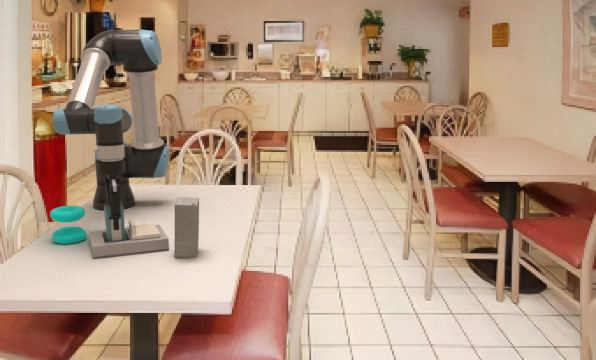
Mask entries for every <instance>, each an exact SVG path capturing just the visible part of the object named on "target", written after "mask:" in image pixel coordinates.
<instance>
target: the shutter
mask: <svg viewBox="0 0 596 360" xmlns="http://www.w3.org/2000/svg"><path fill="white" fill-rule="evenodd" d="M155 225H156V224H155V223H154V222H153V223H151V222H150V223H144V224H143V223H140V224H136V222H135V220H134V218H133V217H131V218H130V217H129V218H128V225H127V226H126V228H127V229H128V232H129V234H130V236H131V238H132V240H136V239H145V238H155V237H160V232H159V231H158V229H157V228H156V226H155Z"/></svg>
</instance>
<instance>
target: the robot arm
mask: <svg viewBox="0 0 596 360" xmlns="http://www.w3.org/2000/svg"><path fill="white" fill-rule="evenodd" d="M80 53H81V54H80V62H81V64H80V66H79V69H78V73H77V75H76V78H75V80H74V83H73V85H72V88H71V92H70V94H69V96H68V100H67V102H66V105H65V108H63V107H62V108H57V109H55V110H54V111H53V113H52V126H53V130H54V131H55V132H56V133H57V134H59V135H70V136H71V135H95V143H96V144H95V145H96V147H95V148H94V150H93V151H94V163H95V176H96V177H95V178H96V189H95V193H94V195H93V199H92V206H93V208H94V209H96V210H99V211H100V210H101V211H104V204H107V203H110V209H111V217H109V220H110V219H111V235H112V241H116V240H122V235H121V210H120V202H122V204H123V206H124V210H125V209H129V208H131V207H134V206H135V205H136V198H135V194H134V192H133V190H132V187H131V185H130V179H155V178H156V179H158V178H159V179H160V178H164V177H165V176H166V175H167V172H168V168H169V161H170V147H169V146H167V145H165V141H164V140H163V139H162V138H161V137H160V132H159V121H158V120H159V119H158V118H159V117H158V110H157V109H158V107H157V98H156V97H157V96H156V87H155V85H156V84H155V73H156V71H158V70H159V69H158V66H159V65H161V64H162V59H163V58H162V57H163V56H162V48H161V45H160V39H159V37H158V36H157V34H156V32H155V31H153V30H147V29H108V30H105V31H102V32H99V33H98V34H96V35H95V36H93V37H92V38H90V40H88V42H87V44H85V46H84V47H83V49H82V51H81V52H80ZM113 65H117V66H118V65H119V66H120V65H122V69H123V72H125V74H127V75H128V83H129V91H130V92H129V93H130V104H131V111H132V112H131V111H129V110H128V109H127V108H124V107H122V105H119V104H113V103H111V104H108V103H107V104H97V105H96V106H95V105H94V104H95V102H96V98H97V96H98V93H99V89H100V87H101V83H102V80H103V77H104V73H105V71H107V70H108V69H109V67H110V66H113ZM132 126H133V132H134V133H133V134H134V140H132V142H131V143H130V144H131V146H128V143H127V142H124V134H125V133H127V132H128V131H129V130H130V129H131V127H132Z"/></svg>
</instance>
